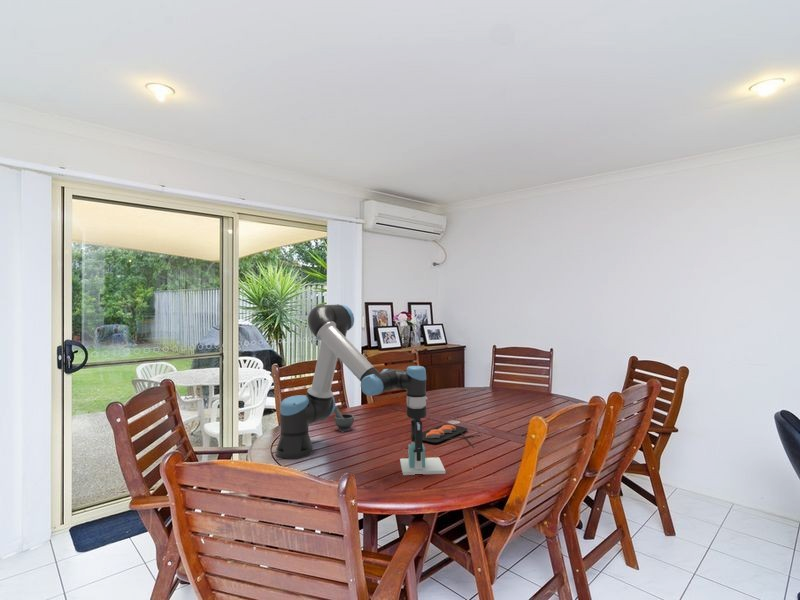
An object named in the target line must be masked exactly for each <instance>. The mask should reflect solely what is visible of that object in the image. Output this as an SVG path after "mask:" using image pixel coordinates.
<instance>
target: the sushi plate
mask: <svg viewBox="0 0 800 600" xmlns="http://www.w3.org/2000/svg"><path fill="white" fill-rule="evenodd" d="M467 431H468V428H467V427H464V426H460V425H455V424H451V423H444V424H441V425H438V426H435V427H432V428H430V429H428V430H424V431H422V442H428V443H432V444H438V443H441V442H444V441H445V440H453V439H454V440H455V439H465V440H466V442H468V444H469V445H470V446H471V447H472V448H473V449H474V448H475V446H474V445H473V444H472V443H471V441H470V440H469V439H468V438H474V436H476V437H480V435H481V434H477V435H466V436H465V434H464V433H465V432H467ZM460 434H461V435H462V436H459V437H457V436H458V435H460ZM455 436H456V437H455Z"/></svg>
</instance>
